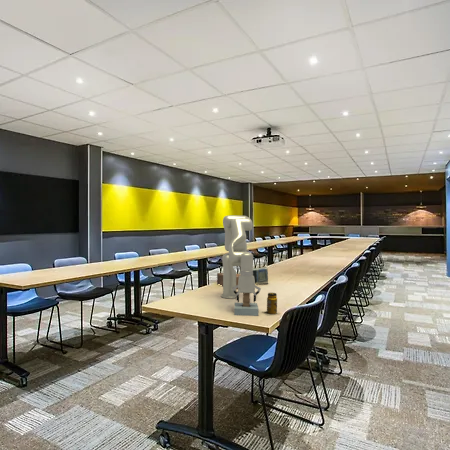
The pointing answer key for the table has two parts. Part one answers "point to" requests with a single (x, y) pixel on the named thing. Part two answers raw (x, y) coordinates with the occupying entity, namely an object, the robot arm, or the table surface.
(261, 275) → the radio
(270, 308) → the condiment
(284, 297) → the table surface
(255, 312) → the socket block
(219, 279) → the tissue box cover
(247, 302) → the peg
